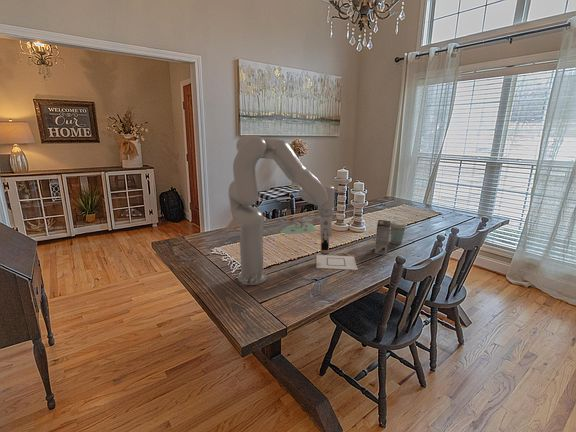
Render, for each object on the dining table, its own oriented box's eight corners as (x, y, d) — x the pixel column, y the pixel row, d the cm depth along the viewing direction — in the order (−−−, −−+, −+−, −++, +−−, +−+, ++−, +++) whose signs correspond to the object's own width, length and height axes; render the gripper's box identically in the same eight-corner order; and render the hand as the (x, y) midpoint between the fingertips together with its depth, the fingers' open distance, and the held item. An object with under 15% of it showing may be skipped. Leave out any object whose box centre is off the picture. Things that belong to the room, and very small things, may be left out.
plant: (296, 238, 182) (296, 224, 180) (272, 230, 196) (272, 217, 194) (322, 229, 200) (322, 216, 197) (298, 222, 213) (299, 210, 211)
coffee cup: (390, 239, 181) (392, 219, 177) (405, 241, 176) (407, 222, 173) (386, 243, 174) (388, 223, 170) (402, 246, 169) (404, 226, 166)
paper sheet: (357, 270, 141) (357, 269, 140) (316, 268, 142) (316, 267, 142) (353, 257, 155) (353, 256, 155) (316, 255, 157) (316, 254, 157)
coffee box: (376, 247, 168) (378, 219, 163) (388, 249, 166) (391, 220, 161) (374, 253, 160) (376, 224, 155) (386, 255, 157) (390, 225, 153)
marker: (329, 254, 146) (329, 231, 142) (320, 254, 146) (320, 231, 143) (328, 251, 150) (329, 228, 146) (320, 251, 150) (320, 228, 147)
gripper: (334, 216, 134) (333, 255, 139) (333, 207, 150) (331, 242, 155) (317, 216, 135) (316, 254, 140) (317, 207, 151) (317, 241, 156)
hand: (324, 247), depth 147 cm, fingers closed on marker, 4 cm apart
